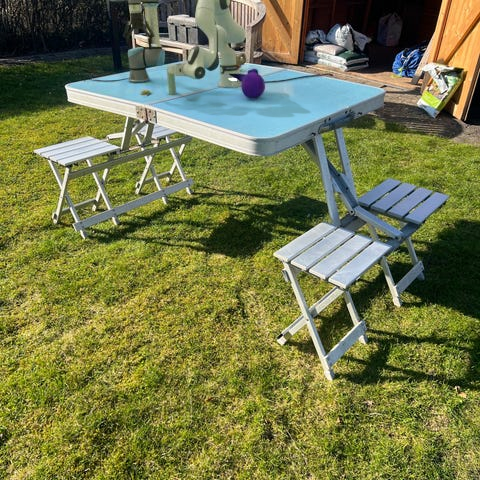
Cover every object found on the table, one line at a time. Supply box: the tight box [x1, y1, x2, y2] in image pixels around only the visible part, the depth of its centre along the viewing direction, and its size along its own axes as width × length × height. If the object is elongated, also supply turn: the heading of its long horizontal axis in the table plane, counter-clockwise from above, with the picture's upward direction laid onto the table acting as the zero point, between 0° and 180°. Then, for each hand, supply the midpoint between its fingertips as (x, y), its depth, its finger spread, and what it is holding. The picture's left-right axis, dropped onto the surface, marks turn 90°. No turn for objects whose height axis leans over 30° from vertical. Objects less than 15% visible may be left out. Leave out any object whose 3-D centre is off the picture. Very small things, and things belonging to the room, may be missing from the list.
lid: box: [140, 89, 151, 96], centre depth 301 cm, size 6×6×2 cm
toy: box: [229, 68, 266, 100], centre depth 284 cm, size 16×18×27 cm
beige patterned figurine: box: [236, 52, 247, 70], centre depth 365 cm, size 21×12×15 cm, turn 120°
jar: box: [166, 70, 177, 96], centre depth 296 cm, size 5×5×17 cm
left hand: (140, 49), depth 287 cm, fingers open, 13 cm apart
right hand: (178, 65), depth 281 cm, fingers open, 8 cm apart
